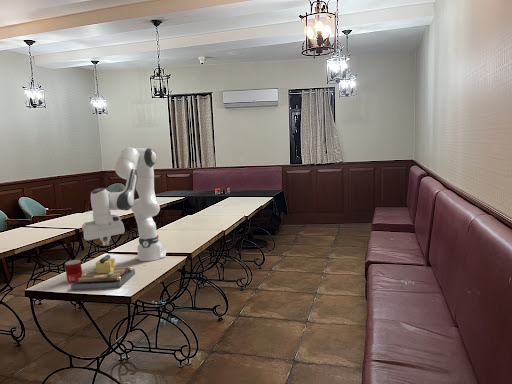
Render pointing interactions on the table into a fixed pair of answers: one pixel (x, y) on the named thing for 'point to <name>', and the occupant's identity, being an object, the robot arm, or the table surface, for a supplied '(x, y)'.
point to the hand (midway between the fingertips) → (106, 244)
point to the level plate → (93, 273)
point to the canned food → (73, 270)
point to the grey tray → (104, 282)
